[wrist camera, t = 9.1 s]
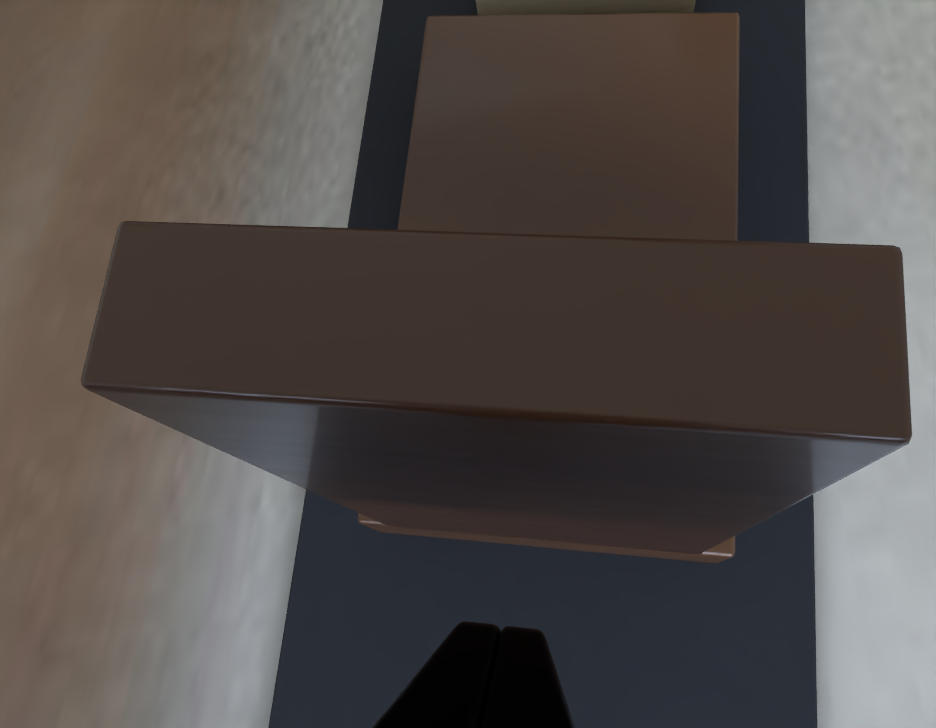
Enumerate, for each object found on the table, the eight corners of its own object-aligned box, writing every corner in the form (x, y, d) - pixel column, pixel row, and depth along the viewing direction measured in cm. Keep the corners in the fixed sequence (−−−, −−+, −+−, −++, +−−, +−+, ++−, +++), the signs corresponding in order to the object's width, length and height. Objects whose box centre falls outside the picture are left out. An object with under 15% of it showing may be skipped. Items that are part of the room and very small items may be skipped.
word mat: (815, 966, 12) (841, 1008, 11) (252, 872, 14) (218, 899, 12) (794, -376, 20) (809, -443, 19) (442, -347, 22) (433, -408, 21)
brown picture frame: (721, 564, 14) (1018, 451, 4) (377, 532, 15) (3, 382, 5) (727, 61, 17) (916, -675, 7) (438, 62, 18) (267, -587, 8)
